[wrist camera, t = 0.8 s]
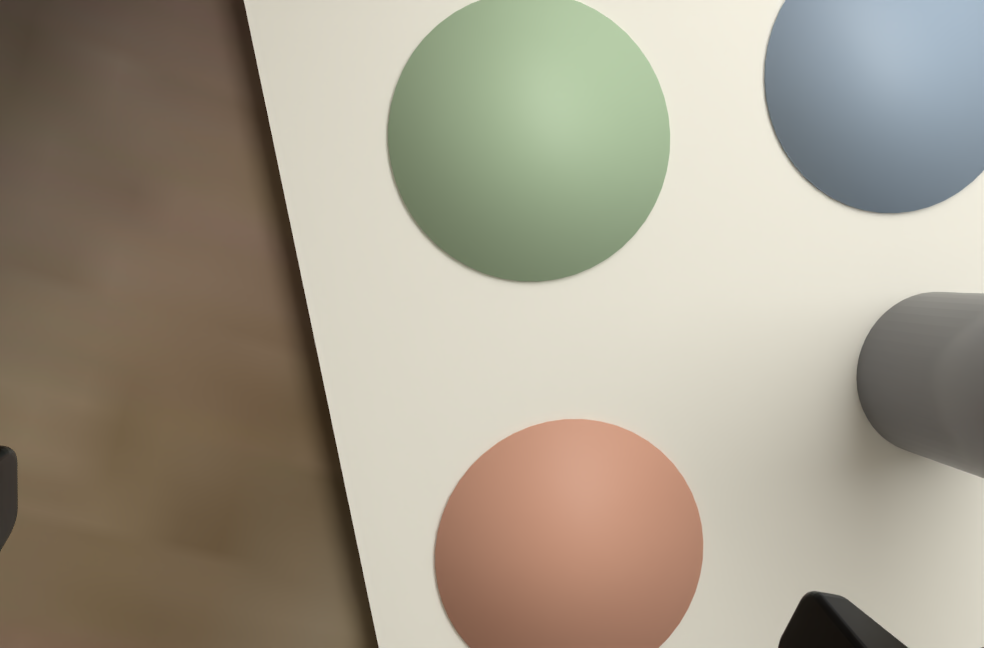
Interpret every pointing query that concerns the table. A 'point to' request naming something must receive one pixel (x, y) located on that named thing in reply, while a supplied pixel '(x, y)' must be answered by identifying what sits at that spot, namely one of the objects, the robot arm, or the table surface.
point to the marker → (928, 378)
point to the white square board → (631, 306)
